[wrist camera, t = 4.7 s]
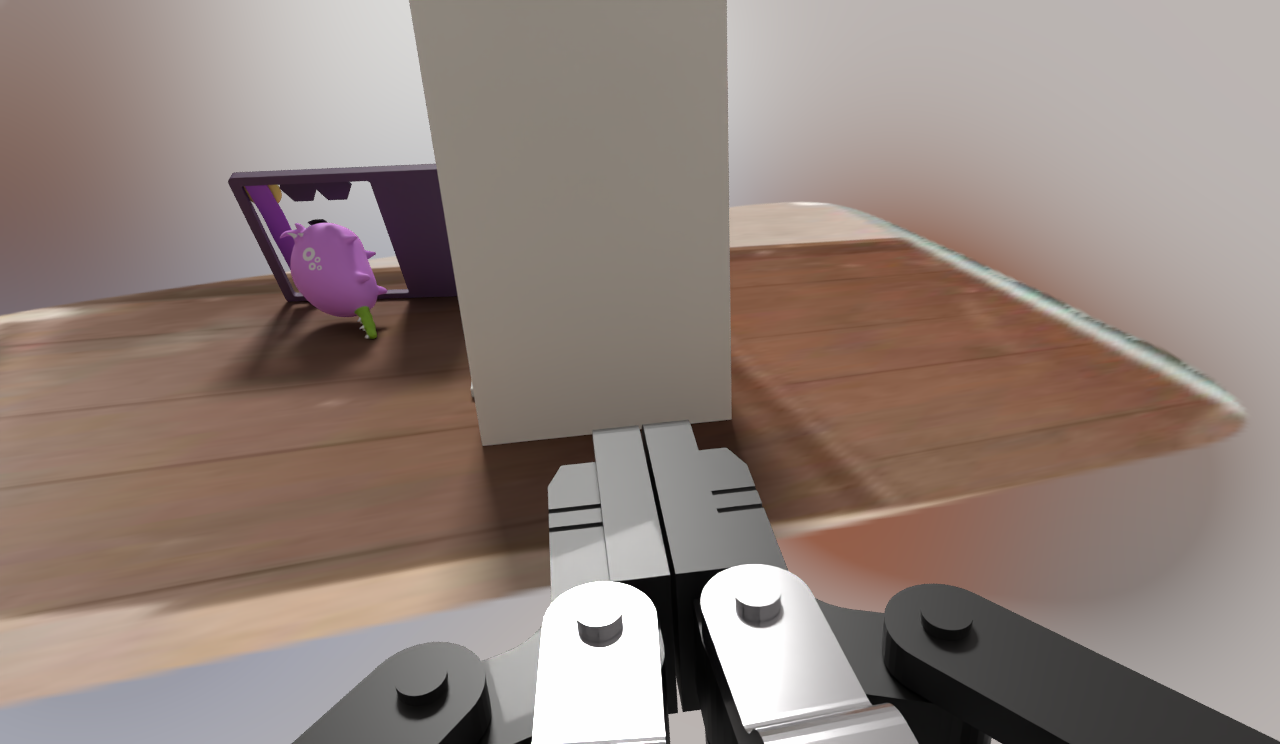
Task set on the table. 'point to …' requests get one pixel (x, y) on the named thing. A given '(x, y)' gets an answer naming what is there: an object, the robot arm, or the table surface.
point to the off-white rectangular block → (584, 207)
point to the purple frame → (351, 236)
